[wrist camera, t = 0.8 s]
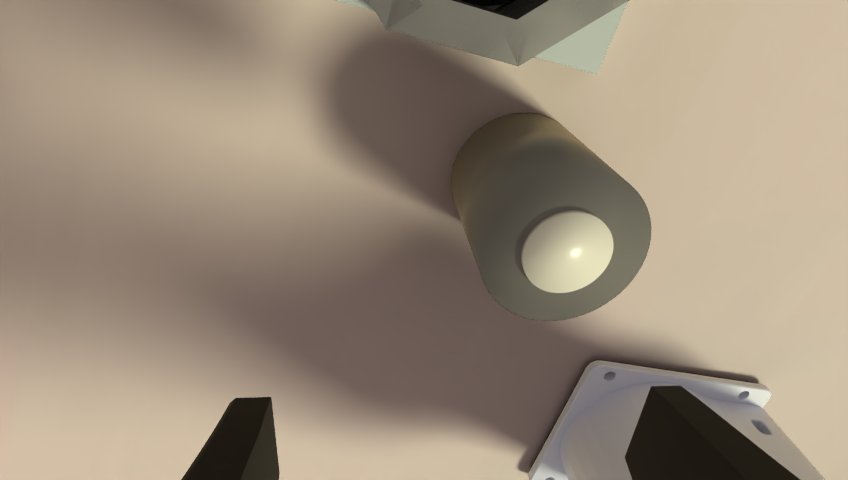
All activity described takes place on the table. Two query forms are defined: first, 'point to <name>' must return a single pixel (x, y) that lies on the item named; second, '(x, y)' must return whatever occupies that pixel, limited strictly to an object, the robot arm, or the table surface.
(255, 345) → the table surface
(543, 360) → the table surface
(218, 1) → the table surface
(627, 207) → the cap
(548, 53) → the plate
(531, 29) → the octagonal ring mount
